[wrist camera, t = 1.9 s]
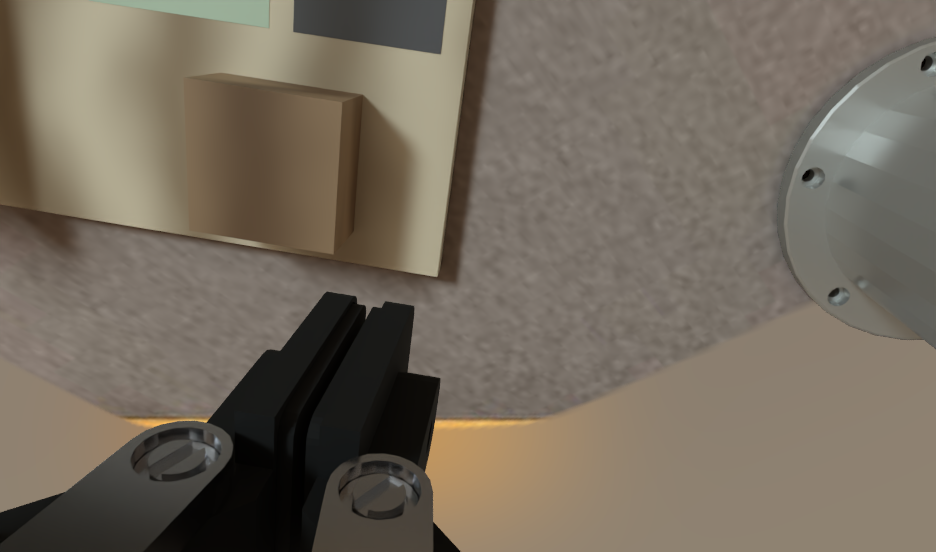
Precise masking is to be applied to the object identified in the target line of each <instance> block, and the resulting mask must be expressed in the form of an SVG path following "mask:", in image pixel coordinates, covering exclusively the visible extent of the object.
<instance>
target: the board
mask: <svg viewBox="0 0 936 552" xmlns="http://www.w3.org/2000/svg"><path fill="white" fill-rule="evenodd" d="M474 7H475V0H269V28H264V27H258V26H251V25H245V24H238V23H232V22H225V21H219V20H212V19H205V18H199V17H192V16H186V15H179V14H173V13H166V12H160V11H153V10H146V9H140V8H133V7H127V6H120V5H114V4H107V3H101V2H94V1H89V0H0V205H6V206H12V207H18V208H24V209H30V210H36V211H42V212H48V213H54V214H60V215H66V216H72V217H79V218H85V219H91V220H97V221H103V222H109V223H115V224H121V225H127V226H133V227H139V228H145V229H151V230H157V231H163V232H169V233H175V234H181V235H187V236H193V237H199V238H205V239H211V240H217V241H223V242H229V243H235V244H241V245H247V246H253V247H259V248H265V249H271V250H277V251H283V252H289V253H295V254H301V255H307V256H313V257H319V258H325V259H331V260H338V261H344V262H350V263H356V264H362V265H368V266H374V267H380V268H386V269H392V270H398V271H404V272H410V273H416V274H422V275H428V276H434V277H437V276H438V274H439V271H440V267H441V259H442V252H443V244H444V236H445V229H446V221H447V213H448V206H449V198H450V190H451V183H452V175H453V168H454V160H455V152H456V145H457V137H458V129H459V122H460V114H461V106H462V99H463V91H464V83H465V76H466V68H467V60H468V53H469V45H470V38H471V30H472V22H473V15H474ZM214 73H228V74H234V75H241V76H247V77H253V78H260V79H266V80H273V81H279V82H285V83H292V84H298V85H305V86H311V87H318V88H324V89H330V90H337V91H343V92H350V93H356V94H363V103H362V117H361V132H360V146H359V160H358V174H357V189H356V203H355V217H354V231H353V233H352V234H351V235H350V236H349V238H348V239H347V240H346V241H345V242H344V243H343V244H342V245H341V247H340V248H339V249H338V250H337V251H336V252H335V253H334V254H328V253H321V252H315V251H309V250H303V249H297V248H291V247H285V246H279V245H273V244H267V243H261V242H255V241H249V240H243V239H237V238H231V237H225V236H219V235H213V234H207V233H201V232H195V231H189V210H188V184H187V158H186V132H185V106H184V80H183V77H191V76H199V75H206V74H214Z"/></svg>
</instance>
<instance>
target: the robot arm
mask: <svg viewBox="0 0 936 552" xmlns="http://www.w3.org/2000/svg"><path fill="white" fill-rule="evenodd" d="M924 58H925V59H926V62H925V65H924V67H923V68H921V63H922V61H923V60H924ZM807 170H810V174H809V176H808V177H807V178H805V179H802V176H803V174H804V173H805V171H807ZM777 226H778V236H779V240H780V244H781V248H782V252H783V257H784V259H785V261H786V263H787V265H788V267H789V269H790V271H791V273H792V275H793V277H794V279H795V280H796V281H797V282H798V283H799V285H800V286H801V287H802V288H803V289H804V291H805V292H806V293H807V294H808V295H809V296H810V298H811V299H813V300H814V301H815V302H816V303H817V304H818V305H819V306H820V307H821V308H822V309H823V310H825V311H826V312H827V313H829V314H830V315H832V316H834V317H835V318H837V319H839V320H841V321H842V322H844V323H845V324H847V325H849V326H851V327H854V328H857V329H859V330H862V331H865V332H868V333H871V334H873V335H877V336H883V337H889V338H895V339H902V340H916V339H917V340H925V341H926V342H927V343H929V344H930V345H931V346H933V347H934V348H935V349H936V37H933V38H929V39H925V40H922V41H920V42H917V43H915V44H913V45H910V46H908V47H905V48H903V49H901V50H898V51H896V52H893V53H891V54H889V55H888V56H886V57H885V58H883V59H881V60H880V61H878V62H876V63H875V64H873V65H871V66H870V67H868V68H867V69H865V70H863V71H862V72H860V73H859V74H858V75H857V76H855V77H854V78H853V79H852V80H851V81H849V82H848V83H847V84H846V85H845V86H844V87H842V88H841V89H840V90H839V91H838V92H837V93H835V94H834V95H833V96H832V97H831V98H830V100H829V101H828V102H827V103H826V104H825V105H824V106H823V108H822V109H821V110H820V111H819V112H818V113H817V115H816V116H815V117H814V118H813V119H812V120H811V122H810V123H809V125H808V126H807V128H806V130H805V131H804V133H803V135H802V136H801V138H800V140H799V141H798V143H797V144H796V146H795V148H794V149H793V152H792V155H791V157H790V160H789V162H788V165H787V167H786V170H785V172H784V175H783V177H782V183H781V188H780V193H779V198H778V204H777ZM832 290H833V291H832ZM831 291H832V292H831ZM830 292H831V293H830ZM365 319H366V320H365ZM413 320H414V306H411V305H405V304H399V303H393V302H387V301H385V303H384V304H383V306H382V308H377V307H373V308H372V309H371V311H370V313H369V315H368V317H367V318H366V307H365V305H359V304H357V298H356V296H350V295H344V294H338V293H332V292H326V293H325V294H324V295H323V296H322V298H321V299H320V300H319V302H318V303H317V304H316V306H315V307H314V308H313V309H312V311H311V312H310V313H309V315H308V316H307V317H306V318H305V320H304V321H303V322H302V324H301V325H300V326H299V328H298V329H297V330H296V331H295V333H294V334H293V335H292V337H291V338H290V339H289V340H288V342H287V343H286V344H285V346H284V347H283V348H282V350H281V351H277V350H267V351H266V352H265V353H263V354H262V356H261V357H260V358H259V359H258V361H257V362H256V363H255V364H254V365H253V367H252V368H251V369H250V370H249V372H248V373H247V374H246V375H245V376H244V378H243V379H242V380H241V381H240V383H239V384H238V385H237V386H236V387H235V389H234V390H233V391H232V392H231V393H230V395H229V396H228V397H227V398H226V400H225V401H224V402H223V403H222V404H221V406H220V407H219V408H218V409H217V411H216V412H215V413H214V414H213V415H212V417H211V418H210V419H209V420H208V422H207V423H204V422H198V421H177V422H172V423H167V424H162V425H159V426H157V427H154V428H151V429H149V430H146V431H144V432H143V433H141V434H140V435H138V436H136V437H135V438H133V439H132V440H130V441H129V442H128V443H126V444H125V445H124V446H123V447H121V448H120V449H119V450H118V451H116V452H115V453H114V454H113V455H111V456H110V457H109V458H108V459H106V460H105V461H104V462H103V463H101V464H100V465H99V466H97V467H96V468H95V469H94V470H93V471H91V472H90V473H89V474H87V475H86V476H85V477H84V478H82V479H81V480H80V481H79V482H77V483H76V484H75V485H74V486H72V487H71V488H70V489H69V490H67V491H66V492H64V493H61V494H58V495H55V496H51V497H48V498H45V499H42V500H39V501H36V502H32V503H29V504H26V505H23V506H19V507H16V508H13V509H10V510H7V511H4V512H1V513H0V552H460V551H459V549H458V548H457V547H456V546H455V545H454V544H453V543H452V542H451V541H450V540H449V539H448V537H447V536H445V534H444V533H443V532H442V531H441V530H440V529H439V528H438V527H437V525H436V524H435V523H434V522H433V491H432V486H431V482H430V479H429V478H428V477H427V475H426V474H425V469H426V464H427V460H428V456H429V451H430V446H431V441H432V434H433V429H434V423H435V417H436V410H437V403H438V396H439V389H440V378H437V377H431V376H425V375H419V374H413V373H407V371H408V362H409V354H410V345H411V337H412V328H413Z"/></svg>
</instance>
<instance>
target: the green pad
mask: <svg viewBox="0 0 936 552" xmlns="http://www.w3.org/2000/svg"><path fill="white" fill-rule="evenodd" d="M89 1H94V2H101V3H107V4H114V5H120V6H127V7H133V8H140V9H146V10H153V11H160V12H166V13H173V14H179V15H186V16H192V17H199V18H205V19H212V20H219V21H225V22H232V23H238V24H245V25H251V26H258V27H264V28H269V0H89Z"/></svg>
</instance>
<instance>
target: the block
mask: <svg viewBox="0 0 936 552" xmlns="http://www.w3.org/2000/svg"><path fill="white" fill-rule="evenodd" d="M183 80H184V106H185V132H186V158H187V184H188V210H189V231H195V232H201V233H207V234H213V235H219V236H225V237H231V238H237V239H243V240H249V241H255V242H261V243H267V244H273V245H279V246H285V247H291V248H297V249H303V250H309V251H315V252H321V253H328V254H334V253H335V252H336V251H337V250H338V249H339V248H340V247H341V245H342V244H343V243H344V242H345V241H346V240H347V239H348V238H349V236H350V235H351V234H352V233H353V231H354V217H355V203H356V189H357V174H358V160H359V146H360V132H361V117H362V103H363V94H356V93H350V92H343V91H337V90H330V89H324V88H318V87H311V86H305V85H298V84H292V83H285V82H279V81H273V80H266V79H260V78H253V77H247V76H241V75H234V74H228V73H214V74H206V75H199V76H191V77H183Z"/></svg>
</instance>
